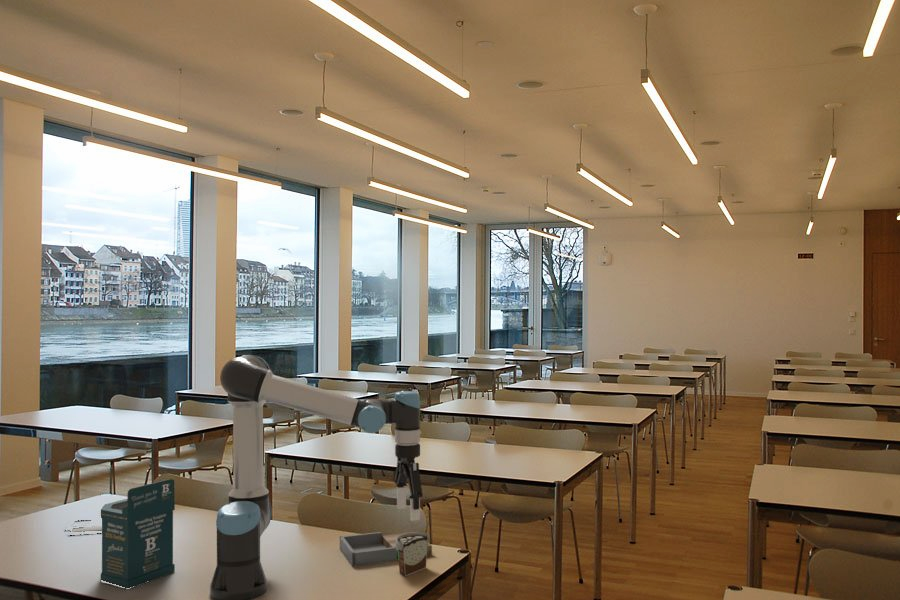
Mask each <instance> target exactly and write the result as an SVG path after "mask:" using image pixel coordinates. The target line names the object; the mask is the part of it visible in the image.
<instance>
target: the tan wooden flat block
mask: <svg viewBox="0 0 900 600" xmlns="http://www.w3.org/2000/svg"><path fill="white" fill-rule="evenodd" d="M408 533H418V532H417V531H411V532H402V533H394V534H385V535H383V534H382V544H383V545H384V546H385V547H386V548H391V547H395V544H396V540H397V538H398V537H399V536H401V535H403V534H408ZM432 546H433V545H432V544H431V543H430V542H428V547H427V557H428V555H429V556H433V547H432ZM396 552H397V561H399V560H398V549H397V548H396Z"/></svg>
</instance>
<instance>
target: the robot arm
mask: <svg viewBox="0 0 900 600" xmlns="http://www.w3.org/2000/svg"><path fill="white" fill-rule="evenodd" d="M219 377H220V378H219V379H220V380H219V381H220V385H221V386H222V388H223V390H224V391H225V392H226V393H227V402H228V403H229V404H230V406H232V425H233V426H232V428H233V434H232V435H233V436H232V437H233V439H232V440H233V441H232V443H233V448H232V449H233V451H232V452H233V488H232V489H231V490H230V491H229V492H228V496H227V497H228V500H227V501H228V504H225V505H223V506H221V507H220V508H219V510H218V511H217V513H216V521H215V525H216V567H215V570H214V573H213V577H212V579H211V581H210V582H211V583H210V586H209V594H210V597H211V598H212V599H214V600H251V599H254V598H257V597H259V596H262V594H264V593H265V592H266V591H267V588H268V587H267V584H268V582H267V577H266V575H265V571H264V569H263V568H264V567H263V566H262V563H261V537H262V535H263V534H264V532H265V531H266V530H267V528H268V527H269V525H270V524H271V523H270V522H271V520H272V516H273V515H272V513H273V511H272V505H271V503H270V491H269V489H268V488H267V487H266V486H265V485H264V482H265V481H264V479H265V478H264V407H263V406H264V405H265V404H266V403H267V402H268V403H272V404H276V405H279V406H283V407H286V408H289V409H293V410H297V411H299V412H304V413H307V414H311V415H315V416H317V417H321V418H325V419H328V420H331V421H334V422H335V421H336V422H339V423H343V424H346V425H349V426H353V427H355V428H358V429H361V430H362V431H363V432H365V433H368V434H374V433H378V432H379V431H381V429H382V428H384V426H385V425H393V424H394V425H395V427H394V442H395V446H394V447H395V450H394V451H395V452H394V455H395V457H396V459H397V462H396V469H395V474H394V475H395V476H394V482H393V483H394V484H395V486H396V509H397V510H405V509H407V485H408V487H409V492H410V495H409V497H408V498H409V502H410V504H409V505H410V509H409V514H410V516H409V517H410V518H409V520H410V522H412V521H420V520H421V498H422V497H423V488H422V482H421V476H420V464H419V462H416V461H415V459H416V458H418V457H420V456H421V444H420V441H421V435H422V431H421V401H420V395H419V393H418V392H416V391H408V390H407V391H405V390H403V391H396V392H395V393H394V396H393V397H394V398H364V399H363V398H362V399H357V398H354V397H351V396H347V395H344V394H340V393H337V392H333V391H331V390H327V389H324V388H320V387H316V386H313V385H311V384H310V385H309V384H305V383H303V382H299V381H296V380H292V379H289V378H285V377H282V376H279V375H275V374H274V373H273V371H272V370H271V369H270V366H269V364H268V362H266V361H265V360H264V358H262V357H260V356H258V355H254V354H243V355H241V356H238V357H234V358H232V359H230V360H228V361H227V362H226V363H225V364H224V365H223V367H222V369H221V371H220V376H219ZM407 482H408V484H407Z"/></svg>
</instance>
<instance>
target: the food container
mask: <svg viewBox="0 0 900 600" xmlns="http://www.w3.org/2000/svg"><path fill="white" fill-rule="evenodd" d="M407 533H408V534H403V535H401V536H399V537H398V538H397V540H396V544H395V547H396V548H397V549H398V560H397V561H398V570H399V574H400V575H401V576H403V577H407V576H409V575H412V574H415V573H418V572H420V571H422V570H425V569H427V564H428V563H427V562H428V560H427V559H428V556H427V547H428V543H429V541H430V536H429V533H426V532H425V533H424V532H417V533H409V532H407Z"/></svg>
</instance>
